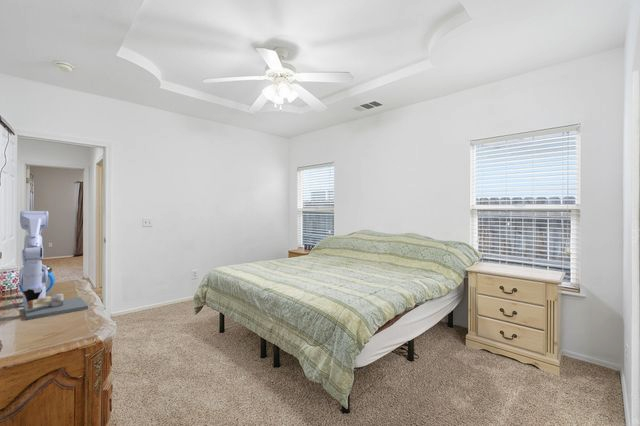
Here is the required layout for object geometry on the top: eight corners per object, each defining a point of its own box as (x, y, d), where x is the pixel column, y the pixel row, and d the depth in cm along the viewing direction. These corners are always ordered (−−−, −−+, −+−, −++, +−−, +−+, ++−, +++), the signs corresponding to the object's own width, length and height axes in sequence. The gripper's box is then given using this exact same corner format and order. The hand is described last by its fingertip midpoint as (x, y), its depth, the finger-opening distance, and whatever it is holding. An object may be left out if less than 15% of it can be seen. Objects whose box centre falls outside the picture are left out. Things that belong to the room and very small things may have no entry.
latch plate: (23, 308, 135) (23, 305, 135) (80, 299, 150) (80, 296, 150) (26, 320, 122) (26, 316, 122) (87, 309, 136) (87, 305, 136)
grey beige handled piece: (58, 302, 139) (58, 293, 139) (66, 303, 137) (66, 294, 137) (23, 311, 126) (24, 301, 126) (32, 312, 125) (32, 302, 125)
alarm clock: (18, 298, 151) (18, 268, 151) (21, 295, 156) (21, 266, 156) (53, 294, 158) (53, 266, 158) (54, 292, 164) (55, 264, 164)
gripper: (50, 275, 128) (50, 307, 128) (39, 271, 136) (39, 301, 136) (28, 278, 123) (27, 311, 123) (17, 274, 130) (17, 305, 130)
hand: (32, 306), depth 129 cm, fingers closed
